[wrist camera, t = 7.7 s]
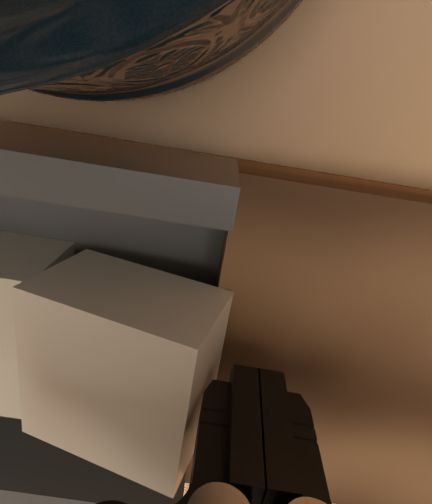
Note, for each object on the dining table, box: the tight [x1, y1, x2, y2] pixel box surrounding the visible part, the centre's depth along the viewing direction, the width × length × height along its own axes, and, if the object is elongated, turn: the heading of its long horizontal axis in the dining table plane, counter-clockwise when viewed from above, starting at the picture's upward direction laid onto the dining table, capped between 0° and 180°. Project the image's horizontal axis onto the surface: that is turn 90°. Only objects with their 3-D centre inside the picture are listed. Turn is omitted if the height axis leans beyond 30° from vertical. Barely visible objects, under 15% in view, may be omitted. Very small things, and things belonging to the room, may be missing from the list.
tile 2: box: [12, 249, 234, 498], centre depth 11 cm, size 5×5×3 cm
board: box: [185, 159, 432, 504], centre depth 13 cm, size 12×14×2 cm
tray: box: [0, 120, 241, 504], centre depth 12 cm, size 12×11×4 cm
